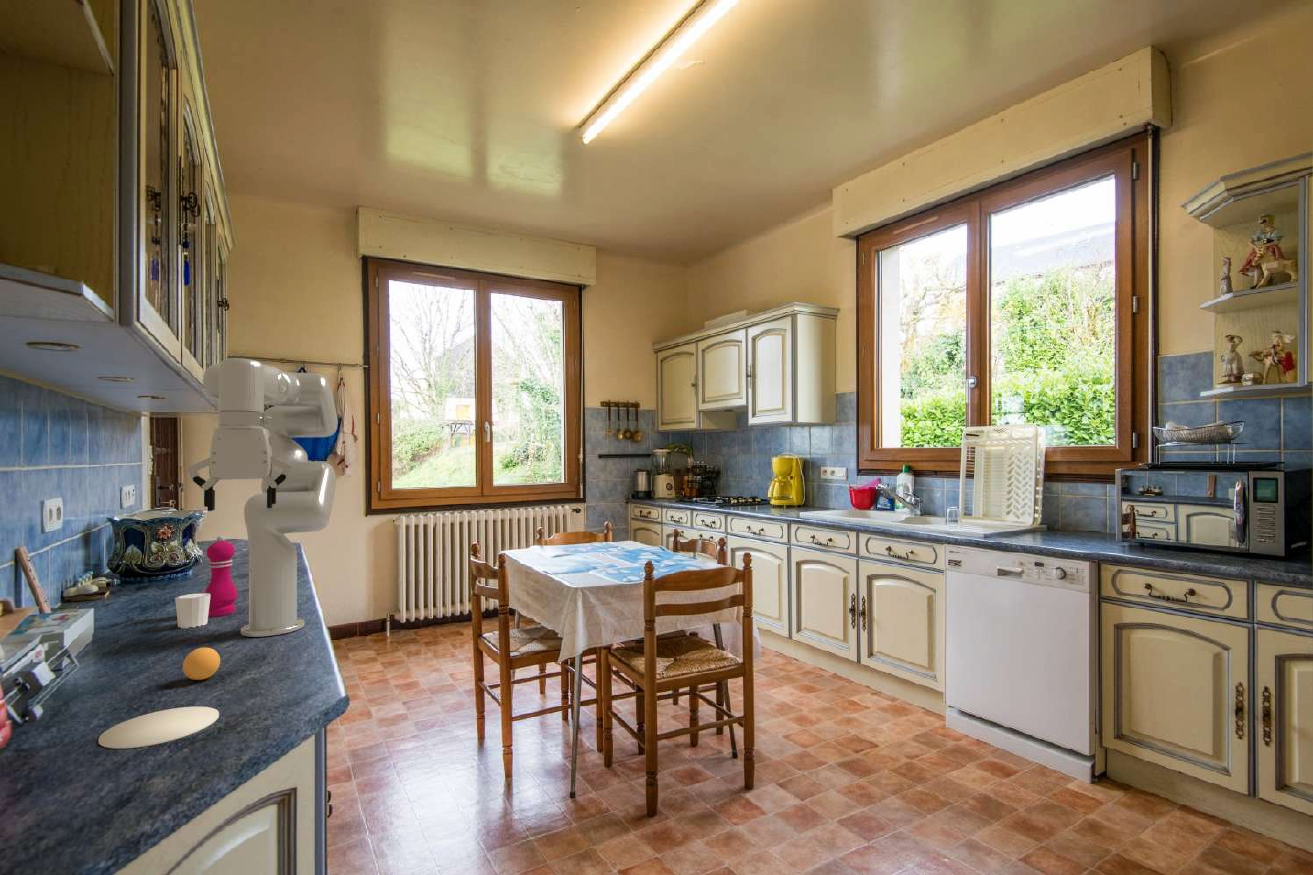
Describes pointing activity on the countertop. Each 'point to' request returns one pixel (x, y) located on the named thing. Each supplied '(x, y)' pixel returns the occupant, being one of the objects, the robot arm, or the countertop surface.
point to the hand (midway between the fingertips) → (240, 509)
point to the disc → (158, 727)
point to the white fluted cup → (192, 609)
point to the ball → (201, 663)
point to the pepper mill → (221, 578)
